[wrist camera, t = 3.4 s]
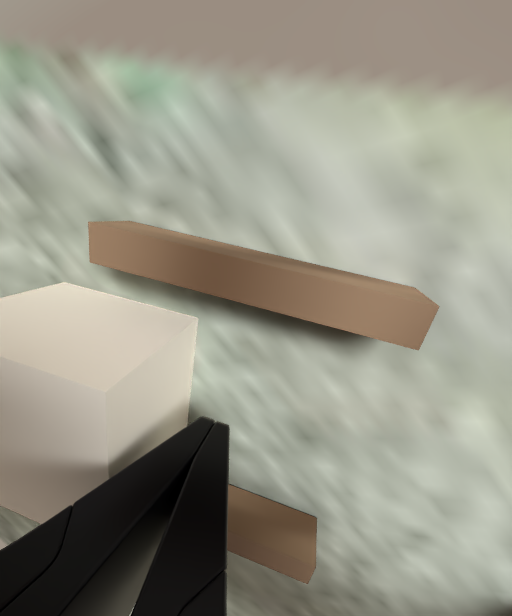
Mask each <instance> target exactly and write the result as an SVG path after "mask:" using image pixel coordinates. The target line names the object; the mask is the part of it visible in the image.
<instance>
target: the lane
mask: <svg viewBox="0 0 512 616" xmlns="http://www.w3.org/2000/svg"><path fill="white" fill-rule="evenodd" d="M88 228H89V255H90V262H91V263H94V264H98V265H102V266H106V267H109V268H113V269H117V270H121V271H124V272H128V273H132V274H136V275H139V276H143V277H147V278H150V279H154V280H158V281H162V282H165V283H169V284H173V285H177V286H180V287H184V288H188V289H191V290H195V291H199V292H203V293H206V294H210V295H214V296H218V297H221V298H225V299H229V300H233V301H236V302H240V303H244V304H247V305H251V306H255V307H259V308H262V309H266V310H270V311H274V312H277V313H281V314H285V315H289V316H292V317H296V318H300V319H303V320H307V321H311V322H315V323H318V324H322V325H326V326H330V327H333V328H337V329H341V330H344V331H348V332H352V333H356V334H359V335H363V336H367V337H371V338H374V339H378V340H382V341H386V342H389V343H393V344H397V345H400V346H404V347H408V348H412V349H415V350H419V349H420V347H421V344H422V342H423V340H424V338H425V336H426V334H427V332H428V330H429V328H430V325H431V323H432V321H433V319H434V317H435V315H436V313H437V311H438V309H439V306H438V305H437V304H436V303H434V302H433V301H432V300H430V299H429V298H428V297H426V296H425V295H424V294H423V293H421V292H420V291H419V290H417V289H416V288H414V287H410V286H405V285H401V284H397V283H392V282H388V281H384V280H380V279H375V278H371V277H367V276H363V275H358V274H354V273H350V272H345V271H341V270H337V269H333V268H328V267H324V266H320V265H316V264H311V263H307V262H303V261H298V260H294V259H290V258H286V257H281V256H277V255H273V254H269V253H264V252H260V251H256V250H251V249H247V248H243V247H239V246H234V245H230V244H226V243H222V242H217V241H213V240H209V239H204V238H200V237H196V236H192V235H187V234H183V233H179V232H174V231H170V230H166V229H162V228H157V227H153V226H149V225H145V224H140V223H136V222H132V221H105V222H88ZM316 533H317V518H316V517H313V516H311V515H308V514H305V513H303V512H300V511H298V510H295V509H292V508H290V507H287V506H284V505H282V504H279V503H277V502H274V501H271V500H269V499H266V498H263V497H261V496H258V495H256V494H253V493H250V492H248V491H245V490H243V489H240V488H237V487H235V486H232V485H229V484H228V537H227V550H228V551H230V552H233V553H235V554H237V555H240V556H242V557H244V558H247V559H249V560H251V561H254V562H256V563H259V564H261V565H263V566H266V567H268V568H270V569H273V570H275V571H277V572H280V573H282V574H285V575H287V576H289V577H292V578H294V579H296V580H299V581H301V582H303V583H306V584H308V582H309V580H310V578H311V576H312V574H313V572H314V570H315V568H316Z"/></svg>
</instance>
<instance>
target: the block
mask: <svg viewBox="0 0 512 616" xmlns="http://www.w3.org/2000/svg"><path fill="white" fill-rule="evenodd" d="M197 326H198V318H197V317H193V316H190V315H186V314H182V313H178V312H175V311H171V310H167V309H163V308H160V307H156V306H152V305H148V304H145V303H141V302H137V301H133V300H130V299H126V298H122V297H118V296H115V295H111V294H107V293H103V292H100V291H96V290H92V289H88V288H85V287H81V286H77V285H73V284H69V283H66V282H63V283H59V284H55V285H51V286H47V287H43V288H38V289H34V290H30V291H26V292H22V293H18V294H14V295H10V296H6V297H2V298H0V506H2V507H5V508H7V509H9V510H11V511H13V512H16V513H18V514H20V515H22V516H25V517H27V518H29V519H31V520H33V521H36V522H38V523H40V524H43V523H44V522H46V521H47V520H49V519H50V518H52V517H53V516H55V515H56V514H58V513H59V512H61V511H62V510H64V509H65V508H66V507H68V506H69V505H72V506H73V504H74V503H75V502H76V501H77V500H79V499H80V498H82V497H83V496H84V495H86V494H87V493H89V492H90V491H92V490H93V489H95V488H96V487H98V486H99V485H101V484H102V483H104V482H105V481H107V480H108V479H110V478H111V477H113V476H114V475H115V474H117V473H118V472H120V471H121V470H123V469H124V468H126V467H127V466H129V465H130V464H132V463H133V462H135V461H136V460H138V459H139V458H141V457H142V456H143V455H145V454H146V453H148V452H149V451H151V450H152V449H154V448H155V447H157V446H158V445H160V444H161V443H163V442H164V441H166V440H167V439H169V438H170V437H172V436H173V435H174V434H176V433H177V432H179V431H180V430H182V429H183V428H185V427H186V426H187V423H188V413H189V403H190V394H191V384H192V374H193V365H194V355H195V345H196V336H197Z"/></svg>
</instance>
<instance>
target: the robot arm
mask: <svg viewBox="0 0 512 616" xmlns="http://www.w3.org/2000/svg"><path fill="white" fill-rule="evenodd" d="M229 430H230V429H229V425H227V424H224V423H221V422H218V421H217V422H215V421H214V420H213V419H210V418H207V417H204V416H202V417H200V418H198V419H197V420H195V421H194V422H192V423H191V424H189V425H188V426H186V427H185V428H183V429H182V430H180V431H179V432H177V433H176V434H174V435H173V436H172V437H170V438H169V439H167V440H166V441H164V442H163V443H161V444H160V445H158V446H157V447H155V448H154V449H152V450H151V451H149V452H148V453H146V454H145V455H143V456H142V457H141V458H139V459H138V460H136V461H135V462H133V463H132V464H130V465H129V466H127V467H126V468H124V469H123V470H121V471H120V472H118V473H117V474H115V475H114V476H113V477H111V478H110V479H108V480H107V481H105V482H104V483H102V484H101V485H99V486H98V487H96V488H95V489H93V490H92V491H90V492H89V493H87V494H86V495H84V496H83V497H82V498H80V499H79V500H77V501H76V502H75V503H74V504H73V506H72V505H69V506H68V507H66V508H65V509H64V510H62V511H61V512H59V513H58V514H56V515H55V516H53V517H52V518H50V519H49V520H47V521H46V522H44V523H43V524H41V525H40V526H38V527H36V528H35V529H33V530H32V531H30V532H29V533H27V534H26V535H24V536H23V537H21V538H20V539H18V540H16V541H15V542H13V543H11V544H10V545H8V546H6V547H5V548H3V549H1V550H0V616H129V614H130V613H131V611H132V609H133V607H134V609H133V611H132V614H131V616H227V603H226V599H227V573H226V569H227V537H228V483H229ZM135 603H136V604H135ZM134 605H135V606H134Z"/></svg>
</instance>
